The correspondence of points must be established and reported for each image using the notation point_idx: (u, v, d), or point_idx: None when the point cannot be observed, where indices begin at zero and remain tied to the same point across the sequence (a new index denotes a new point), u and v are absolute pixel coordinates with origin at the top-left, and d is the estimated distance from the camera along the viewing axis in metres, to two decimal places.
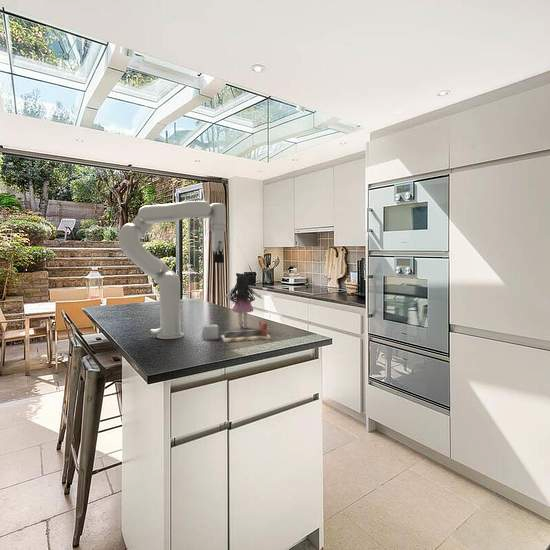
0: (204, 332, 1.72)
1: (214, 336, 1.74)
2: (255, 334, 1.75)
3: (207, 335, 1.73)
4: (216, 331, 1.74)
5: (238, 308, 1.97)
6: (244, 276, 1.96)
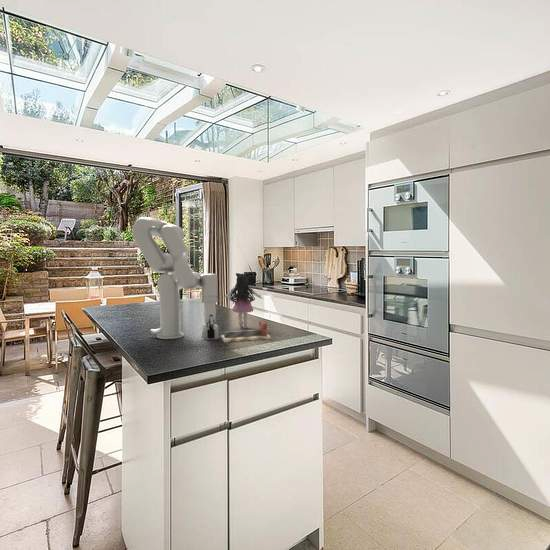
0: (204, 332, 1.72)
1: None
2: (255, 334, 1.75)
3: (207, 335, 1.73)
4: (216, 331, 1.74)
5: (238, 308, 1.97)
6: (244, 276, 1.96)
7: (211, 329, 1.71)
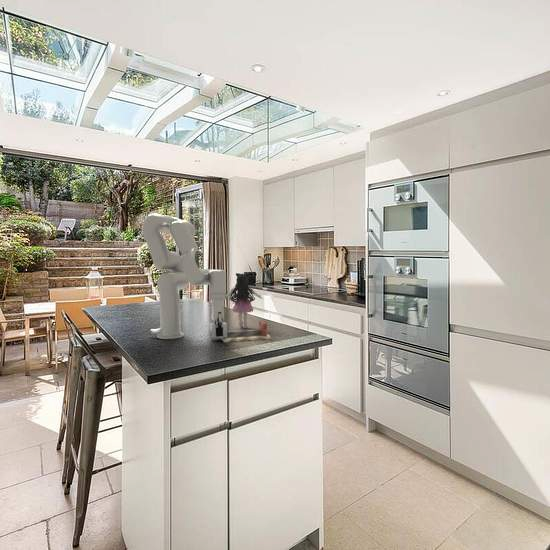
0: (212, 330, 1.67)
1: (223, 334, 1.69)
2: (255, 334, 1.75)
3: (215, 333, 1.68)
4: (225, 329, 1.69)
5: (238, 308, 1.97)
6: (244, 276, 1.96)
7: (219, 327, 1.66)
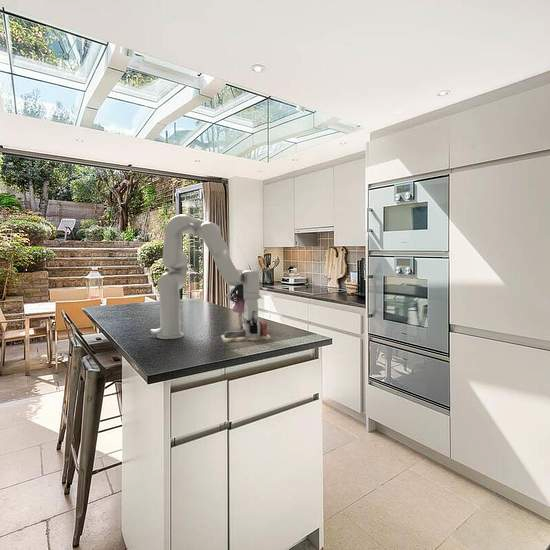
0: (246, 329, 1.72)
1: None
2: None
3: (249, 332, 1.72)
4: (258, 328, 1.74)
5: (238, 308, 1.97)
6: None
7: (254, 324, 1.70)
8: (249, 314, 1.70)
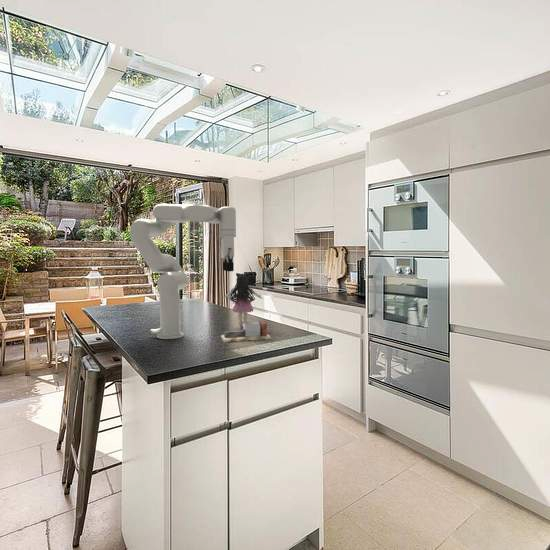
0: (246, 329, 1.72)
1: (256, 333, 1.73)
2: None
3: (249, 332, 1.72)
4: (258, 328, 1.74)
5: (238, 308, 1.97)
6: (244, 276, 1.96)
7: (230, 261, 1.65)
8: (225, 251, 1.65)
